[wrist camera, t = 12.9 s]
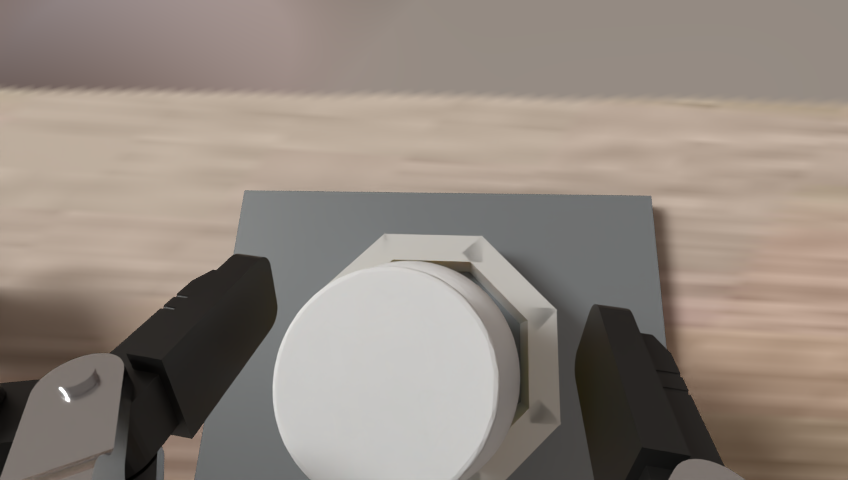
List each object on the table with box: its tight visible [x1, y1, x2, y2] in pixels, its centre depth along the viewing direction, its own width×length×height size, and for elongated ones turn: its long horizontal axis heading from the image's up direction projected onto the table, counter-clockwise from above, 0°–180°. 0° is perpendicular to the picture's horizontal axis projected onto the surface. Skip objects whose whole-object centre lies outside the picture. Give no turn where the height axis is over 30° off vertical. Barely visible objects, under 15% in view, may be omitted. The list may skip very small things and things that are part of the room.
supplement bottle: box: [273, 261, 520, 480], centre depth 12 cm, size 5×5×10 cm
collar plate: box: [194, 190, 667, 480], centre depth 16 cm, size 18×14×3 cm
